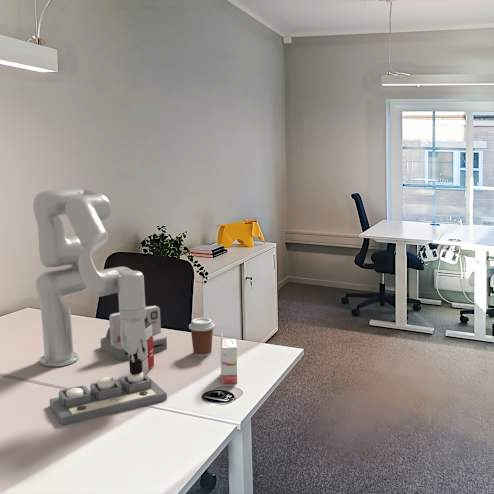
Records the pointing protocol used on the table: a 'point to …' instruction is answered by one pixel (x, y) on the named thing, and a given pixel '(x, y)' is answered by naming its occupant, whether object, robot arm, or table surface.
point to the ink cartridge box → (228, 360)
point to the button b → (105, 383)
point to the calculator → (148, 350)
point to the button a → (74, 392)
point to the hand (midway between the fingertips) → (136, 373)
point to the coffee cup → (202, 336)
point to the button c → (135, 378)
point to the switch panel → (105, 400)
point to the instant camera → (113, 337)
